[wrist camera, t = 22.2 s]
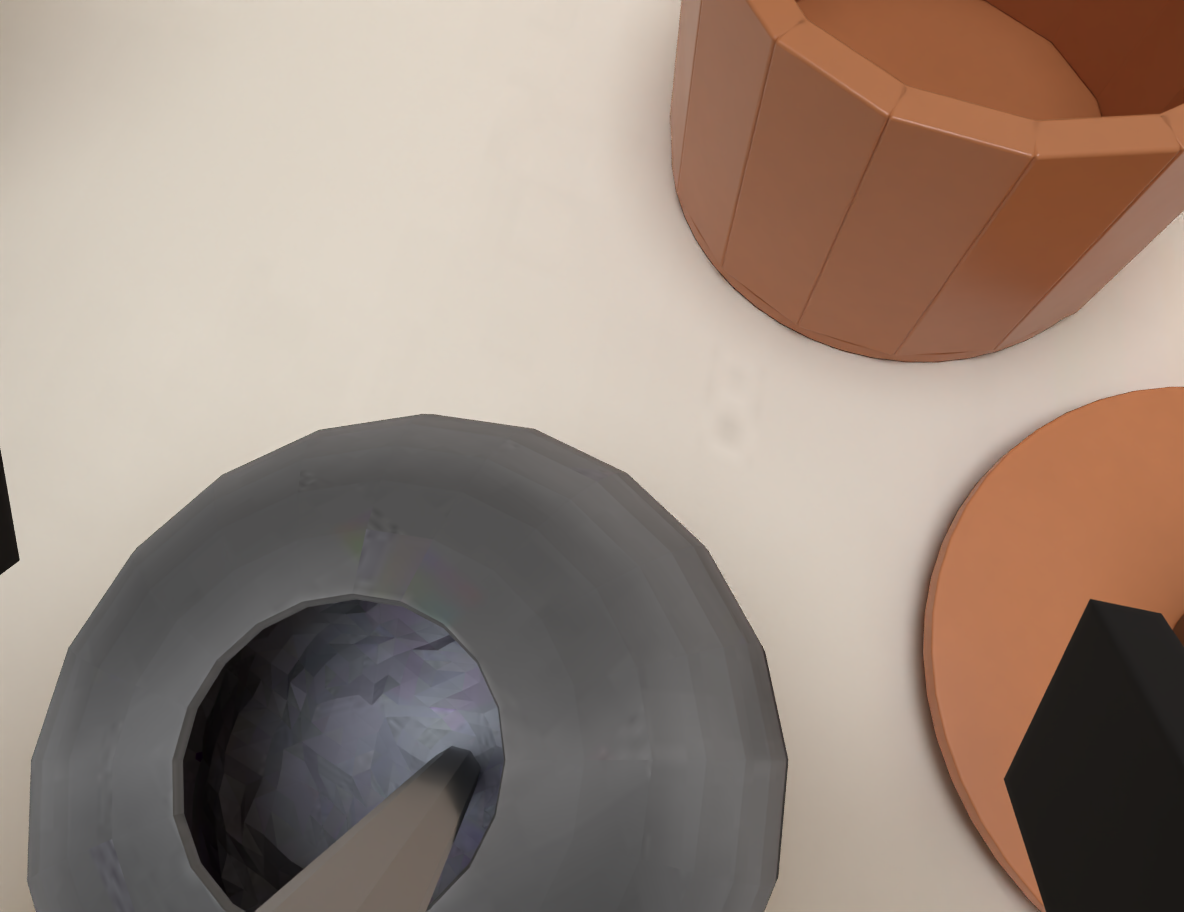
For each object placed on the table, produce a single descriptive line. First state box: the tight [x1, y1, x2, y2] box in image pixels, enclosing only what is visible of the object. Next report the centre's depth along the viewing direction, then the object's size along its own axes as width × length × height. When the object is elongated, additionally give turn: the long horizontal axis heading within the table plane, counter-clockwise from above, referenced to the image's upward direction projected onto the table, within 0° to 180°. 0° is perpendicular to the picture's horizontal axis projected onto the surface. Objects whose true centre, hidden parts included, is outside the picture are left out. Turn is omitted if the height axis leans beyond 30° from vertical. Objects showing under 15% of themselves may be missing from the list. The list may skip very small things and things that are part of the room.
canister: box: [670, 0, 1184, 362], centre depth 21 cm, size 13×13×8 cm
